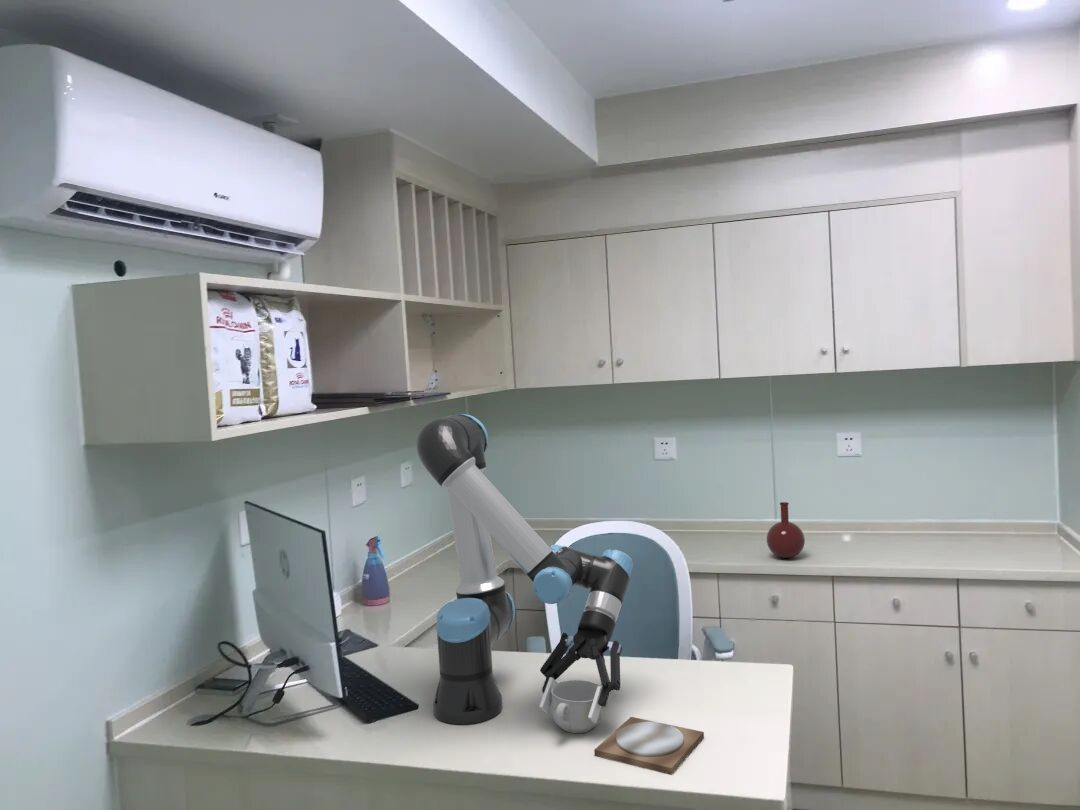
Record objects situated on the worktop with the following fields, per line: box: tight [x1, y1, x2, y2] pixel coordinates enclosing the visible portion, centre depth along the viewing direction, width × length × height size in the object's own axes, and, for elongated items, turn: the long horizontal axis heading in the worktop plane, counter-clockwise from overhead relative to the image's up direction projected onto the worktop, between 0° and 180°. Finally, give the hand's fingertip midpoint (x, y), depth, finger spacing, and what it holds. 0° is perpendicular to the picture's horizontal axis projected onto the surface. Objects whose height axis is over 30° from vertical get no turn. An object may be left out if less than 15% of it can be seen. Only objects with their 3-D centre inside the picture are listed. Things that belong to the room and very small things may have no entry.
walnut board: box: [593, 716, 705, 775], centre depth 162 cm, size 16×16×2 cm
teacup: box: [551, 679, 603, 734], centre depth 171 cm, size 14×11×8 cm
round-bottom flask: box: [766, 501, 806, 559], centre depth 298 cm, size 13×13×20 cm
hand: (567, 715), depth 169 cm, fingers closed on teacup, 11 cm apart
